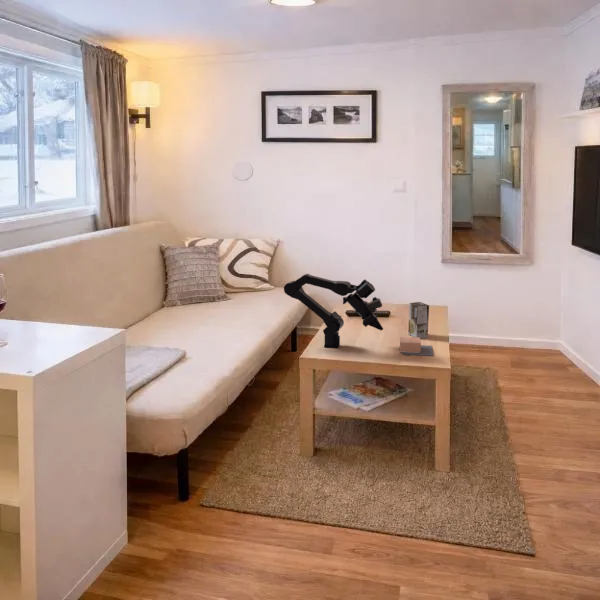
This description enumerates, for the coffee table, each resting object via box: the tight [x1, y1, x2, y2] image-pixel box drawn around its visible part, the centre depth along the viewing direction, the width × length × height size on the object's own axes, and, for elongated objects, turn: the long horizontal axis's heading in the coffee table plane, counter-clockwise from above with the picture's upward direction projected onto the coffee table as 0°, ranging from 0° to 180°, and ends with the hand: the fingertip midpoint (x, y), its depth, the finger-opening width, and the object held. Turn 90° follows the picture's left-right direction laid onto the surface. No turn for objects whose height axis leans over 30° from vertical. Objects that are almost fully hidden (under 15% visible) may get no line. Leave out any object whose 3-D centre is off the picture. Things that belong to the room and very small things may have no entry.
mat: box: [402, 344, 434, 357], centre depth 292 cm, size 13×16×1 cm
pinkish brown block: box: [399, 336, 422, 353], centre depth 292 cm, size 4×10×9 cm
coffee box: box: [407, 301, 430, 339], centre depth 316 cm, size 9×6×16 cm
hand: (382, 329), depth 293 cm, fingers closed
